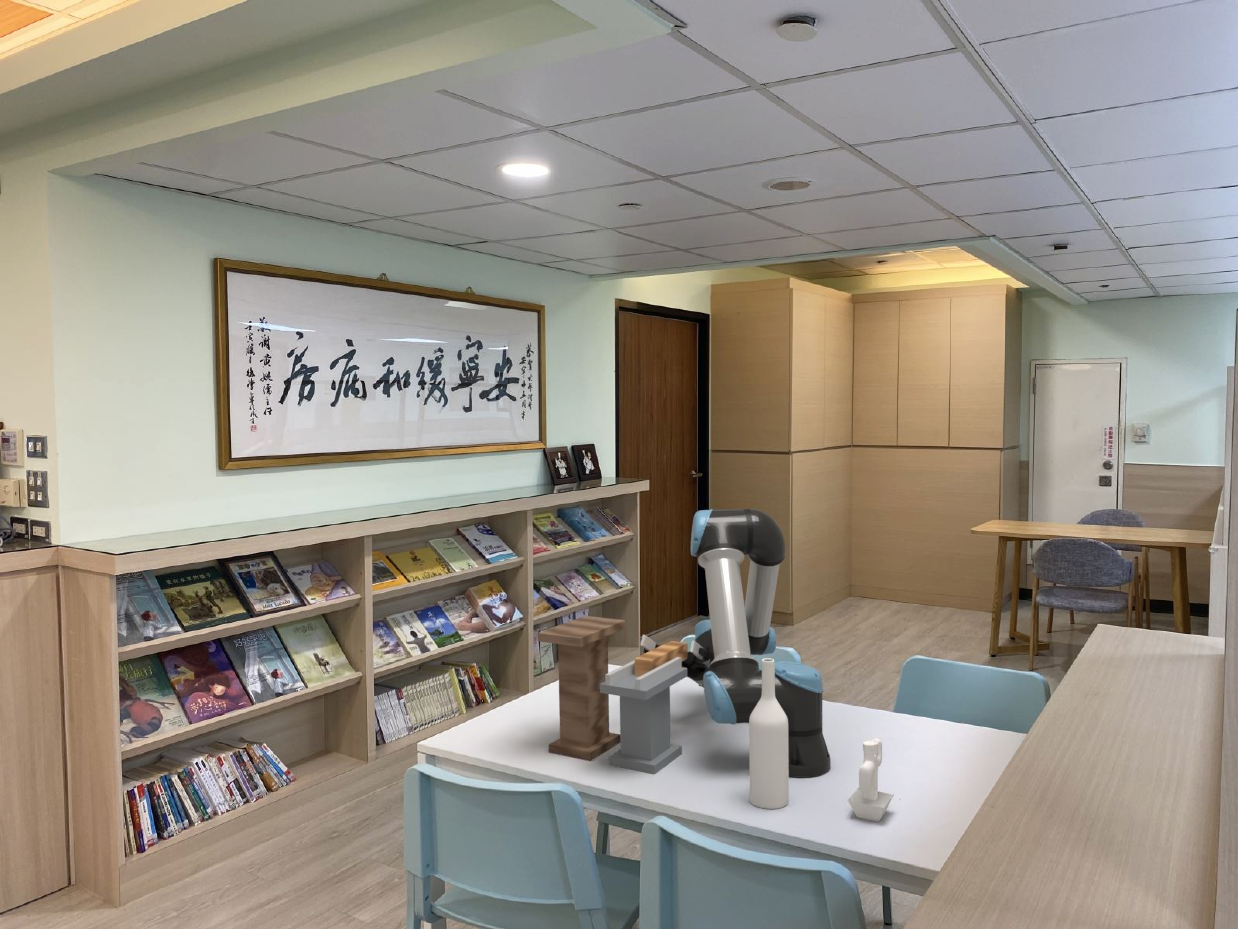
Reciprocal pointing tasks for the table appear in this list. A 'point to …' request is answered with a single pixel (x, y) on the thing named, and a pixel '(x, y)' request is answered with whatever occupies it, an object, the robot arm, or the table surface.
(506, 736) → the table surface
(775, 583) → the robot arm
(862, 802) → the figurine
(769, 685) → the bottle
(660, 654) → the wooden grain block
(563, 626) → the tall stand
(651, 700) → the cradle
